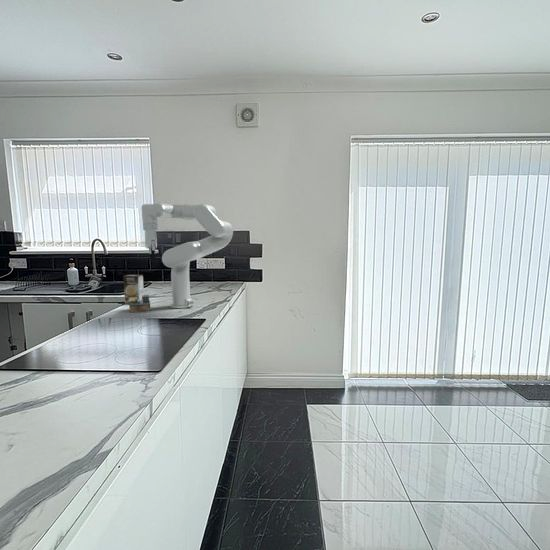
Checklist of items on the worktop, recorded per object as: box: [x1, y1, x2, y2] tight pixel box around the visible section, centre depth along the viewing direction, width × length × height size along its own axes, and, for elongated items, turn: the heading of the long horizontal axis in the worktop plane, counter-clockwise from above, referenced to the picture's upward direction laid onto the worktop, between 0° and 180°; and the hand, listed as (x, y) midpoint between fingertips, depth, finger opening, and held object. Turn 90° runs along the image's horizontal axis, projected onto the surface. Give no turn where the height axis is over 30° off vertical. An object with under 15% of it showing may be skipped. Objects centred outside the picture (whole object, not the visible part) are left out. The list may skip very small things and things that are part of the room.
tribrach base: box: [128, 304, 152, 313], centre depth 182 cm, size 10×8×3 cm
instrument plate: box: [128, 294, 151, 306], centre depth 181 cm, size 10×8×4 cm
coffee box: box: [122, 274, 145, 305], centre depth 199 cm, size 9×6×16 cm
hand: (152, 261), depth 190 cm, fingers closed
